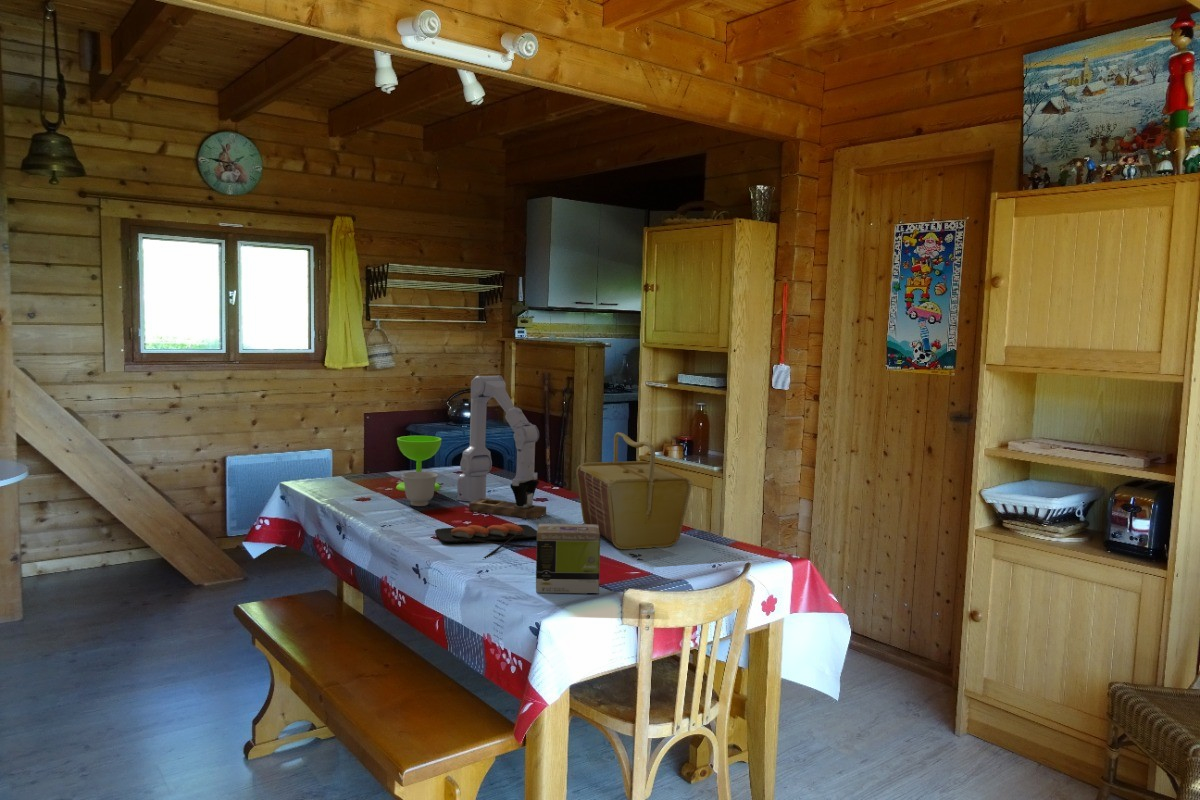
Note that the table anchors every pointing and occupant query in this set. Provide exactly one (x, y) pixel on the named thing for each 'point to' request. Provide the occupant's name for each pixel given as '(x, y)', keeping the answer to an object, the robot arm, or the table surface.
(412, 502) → the teacup
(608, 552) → the table surface
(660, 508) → the picnic basket
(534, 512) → the wooden compartment tray
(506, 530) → the sushi plate
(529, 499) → the beige rectangular block
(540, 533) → the tea box
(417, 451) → the wineglass
